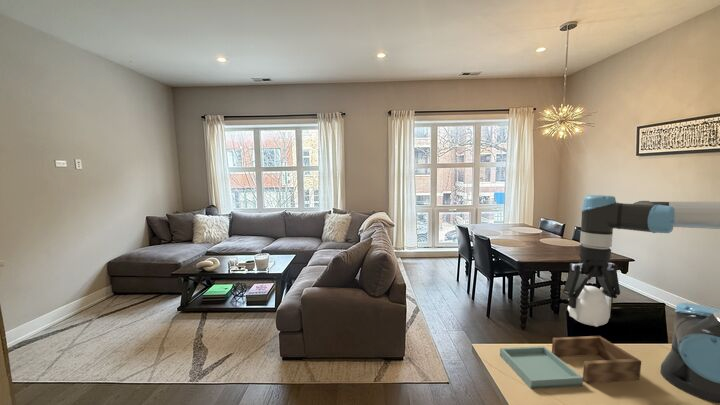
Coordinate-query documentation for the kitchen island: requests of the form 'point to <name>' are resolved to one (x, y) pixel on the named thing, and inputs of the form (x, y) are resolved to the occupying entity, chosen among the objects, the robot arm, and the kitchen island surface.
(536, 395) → the kitchen island surface
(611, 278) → the robot arm
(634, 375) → the wooden open box
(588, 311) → the figurine
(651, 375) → the kitchen island surface
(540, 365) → the tray
